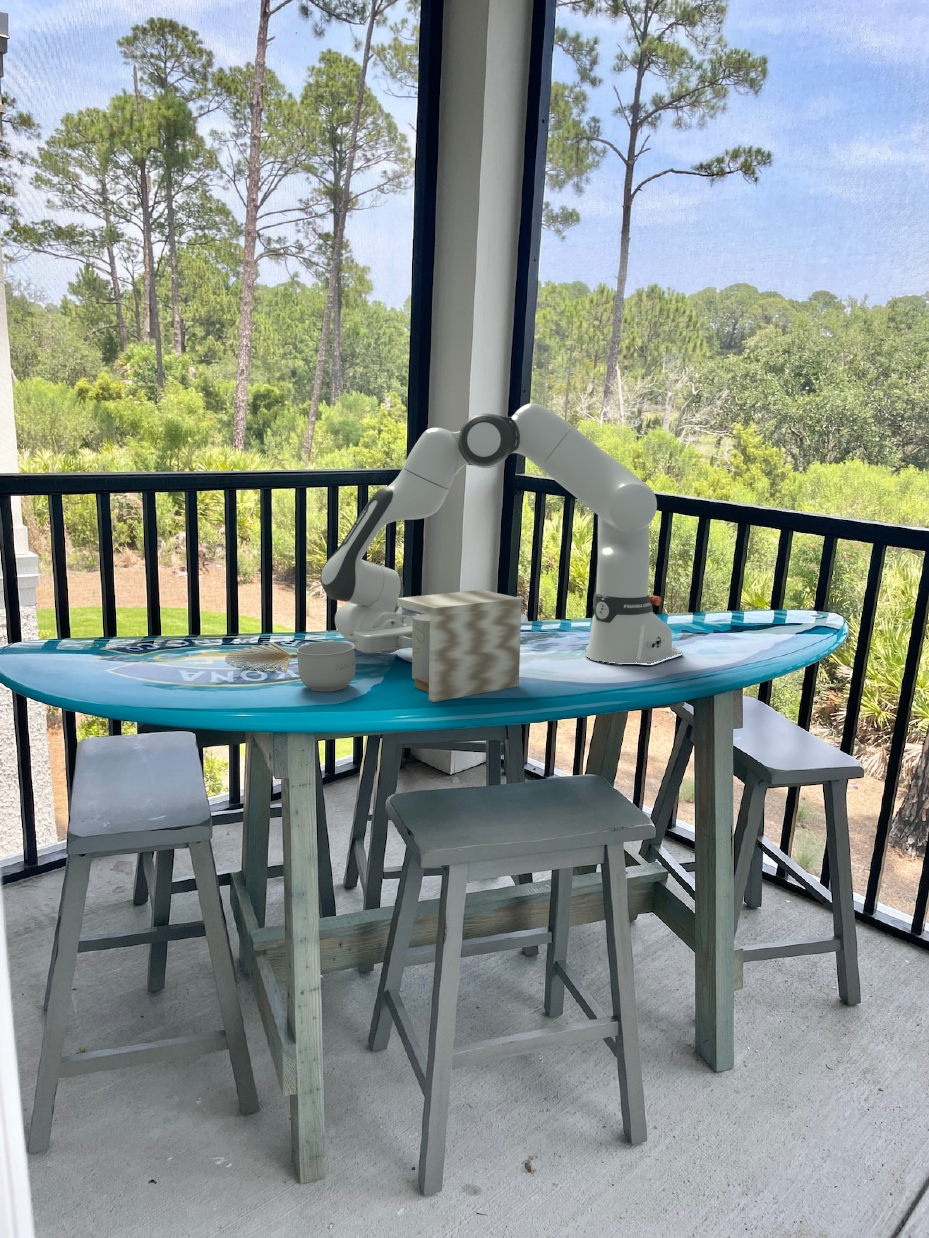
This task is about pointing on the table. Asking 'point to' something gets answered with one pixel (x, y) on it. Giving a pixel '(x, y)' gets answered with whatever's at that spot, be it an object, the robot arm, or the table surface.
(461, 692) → the marbled side table
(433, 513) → the robot arm
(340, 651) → the teacup
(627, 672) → the table surface
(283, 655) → the hand fan
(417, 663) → the cup
